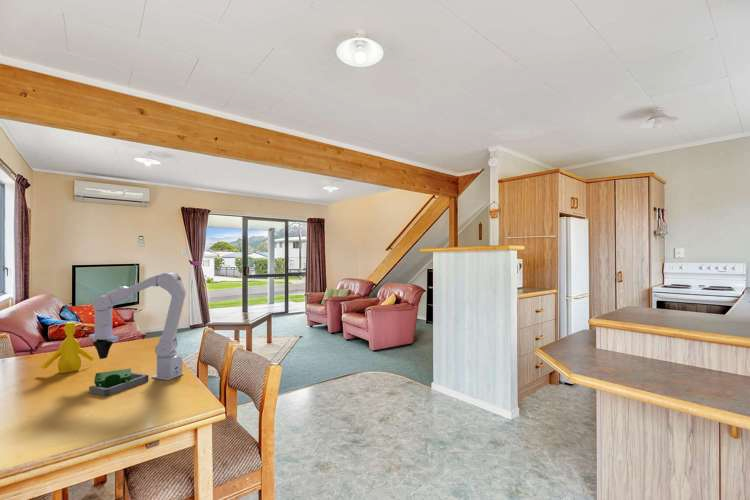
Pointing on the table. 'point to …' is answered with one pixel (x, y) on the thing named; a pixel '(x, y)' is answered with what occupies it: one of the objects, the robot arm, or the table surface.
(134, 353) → the table surface
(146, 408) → the table surface
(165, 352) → the robot arm
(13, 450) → the table surface
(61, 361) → the figure statuette
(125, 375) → the clamp
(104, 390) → the tool bay
